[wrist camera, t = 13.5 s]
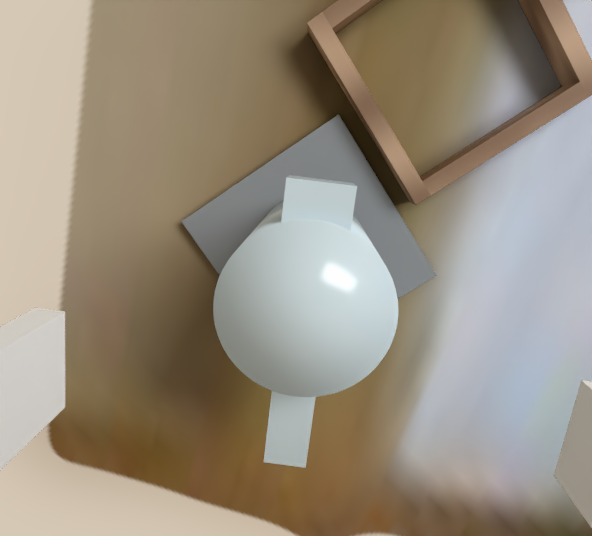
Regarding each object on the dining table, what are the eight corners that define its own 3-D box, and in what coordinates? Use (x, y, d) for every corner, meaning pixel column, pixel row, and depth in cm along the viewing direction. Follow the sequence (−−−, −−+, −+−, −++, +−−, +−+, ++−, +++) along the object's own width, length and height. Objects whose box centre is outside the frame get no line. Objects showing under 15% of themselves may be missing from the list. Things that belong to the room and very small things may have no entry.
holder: (584, 91, 28) (604, 86, 26) (409, 201, 30) (416, 204, 28) (489, -100, 26) (503, -121, 24) (307, 32, 28) (306, 22, 26)
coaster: (434, 273, 31) (436, 275, 30) (284, 362, 33) (283, 366, 32) (338, 115, 29) (338, 114, 28) (183, 220, 31) (181, 221, 30)
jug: (264, 164, 29) (223, 170, 17) (376, 177, 29) (420, 194, 16) (245, 360, 32) (198, 491, 20) (345, 373, 32) (362, 514, 20)
